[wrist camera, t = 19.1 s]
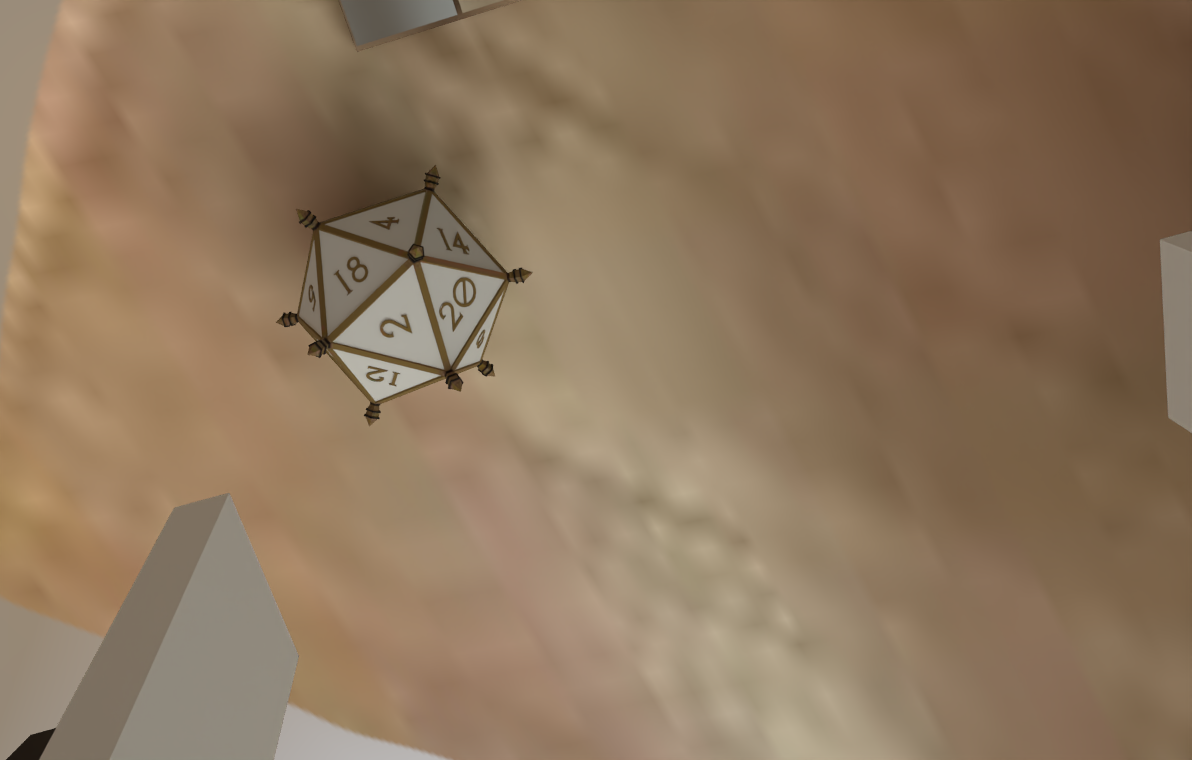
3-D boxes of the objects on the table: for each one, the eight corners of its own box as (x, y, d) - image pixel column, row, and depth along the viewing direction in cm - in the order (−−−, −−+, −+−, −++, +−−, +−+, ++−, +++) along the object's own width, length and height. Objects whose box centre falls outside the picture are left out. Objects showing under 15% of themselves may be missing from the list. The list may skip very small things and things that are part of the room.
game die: (402, 201, 46) (433, 80, 37) (535, 348, 46) (599, 264, 37) (231, 326, 43) (218, 228, 34) (374, 485, 43) (401, 431, 34)
